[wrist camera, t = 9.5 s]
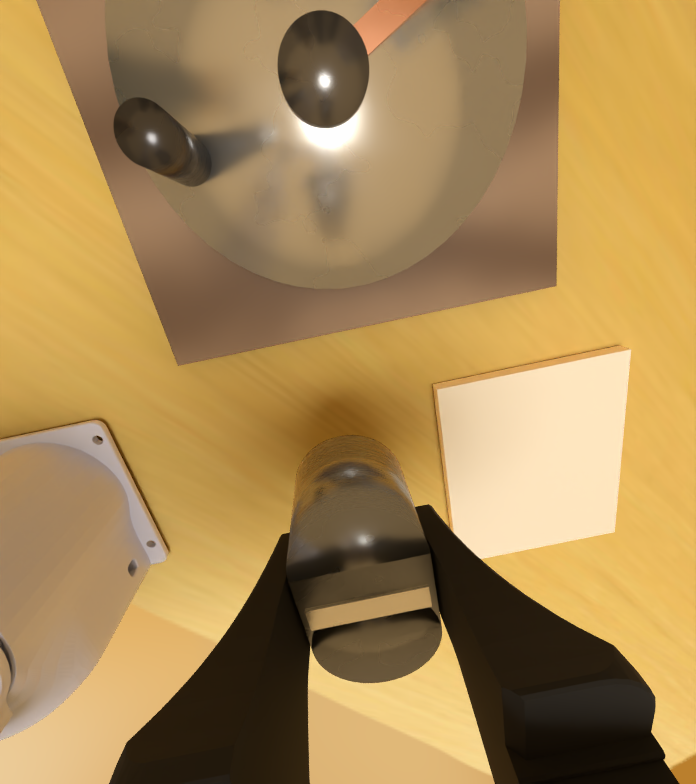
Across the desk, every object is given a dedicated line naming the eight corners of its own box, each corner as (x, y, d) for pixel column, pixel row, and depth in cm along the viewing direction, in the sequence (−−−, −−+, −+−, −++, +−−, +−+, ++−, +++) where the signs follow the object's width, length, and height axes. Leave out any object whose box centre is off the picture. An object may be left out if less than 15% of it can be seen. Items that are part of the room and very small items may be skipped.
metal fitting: (418, 569, 16) (448, 672, 12) (326, 588, 16) (327, 696, 12) (393, 425, 13) (422, 497, 9) (283, 448, 13) (268, 529, 9)
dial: (588, 24, 14) (715, -83, 9) (374, 344, 17) (392, 377, 13) (235, -349, 10) (168, -804, 6) (67, 154, 14) (-50, 112, 10)
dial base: (544, 284, 18) (564, 287, 17) (185, 359, 18) (173, 369, 17) (544, -307, 12) (577, -389, 10) (-17, -177, 12) (-66, -238, 10)
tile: (605, 523, 24) (614, 531, 23) (453, 553, 24) (457, 563, 23) (619, 345, 20) (630, 349, 19) (432, 384, 20) (437, 389, 19)
